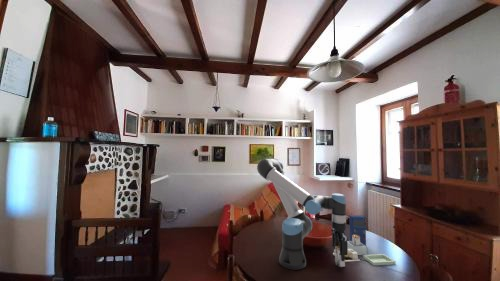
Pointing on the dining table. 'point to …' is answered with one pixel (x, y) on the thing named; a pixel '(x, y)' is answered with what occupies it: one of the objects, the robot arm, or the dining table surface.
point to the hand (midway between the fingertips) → (339, 263)
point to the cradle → (351, 255)
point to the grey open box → (358, 248)
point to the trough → (379, 259)
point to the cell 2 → (355, 240)
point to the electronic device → (358, 227)
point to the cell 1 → (337, 255)
